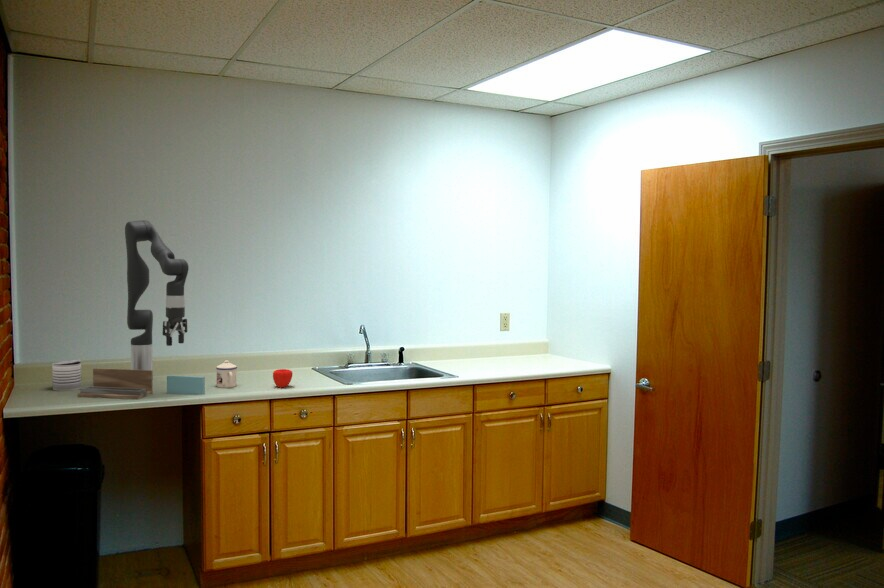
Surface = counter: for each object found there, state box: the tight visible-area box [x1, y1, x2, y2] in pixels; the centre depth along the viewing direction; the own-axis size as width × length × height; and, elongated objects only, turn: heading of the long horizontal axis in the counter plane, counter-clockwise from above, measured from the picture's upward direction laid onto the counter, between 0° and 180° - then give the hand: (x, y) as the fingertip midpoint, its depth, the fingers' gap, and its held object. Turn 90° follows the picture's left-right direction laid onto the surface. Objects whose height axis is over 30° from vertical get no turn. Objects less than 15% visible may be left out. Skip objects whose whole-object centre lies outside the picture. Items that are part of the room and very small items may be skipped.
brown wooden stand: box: [77, 367, 154, 400], centre depth 294 cm, size 12×26×10 cm, turn 84°
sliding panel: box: [166, 374, 206, 395], centre depth 301 cm, size 2×16×8 cm, turn 84°
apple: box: [272, 368, 293, 389], centre depth 321 cm, size 9×9×8 cm
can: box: [51, 359, 82, 391], centre depth 307 cm, size 11×11×12 cm
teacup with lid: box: [215, 360, 238, 389], centre depth 318 cm, size 12×9×12 cm
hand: (175, 344), depth 298 cm, fingers open, 8 cm apart
